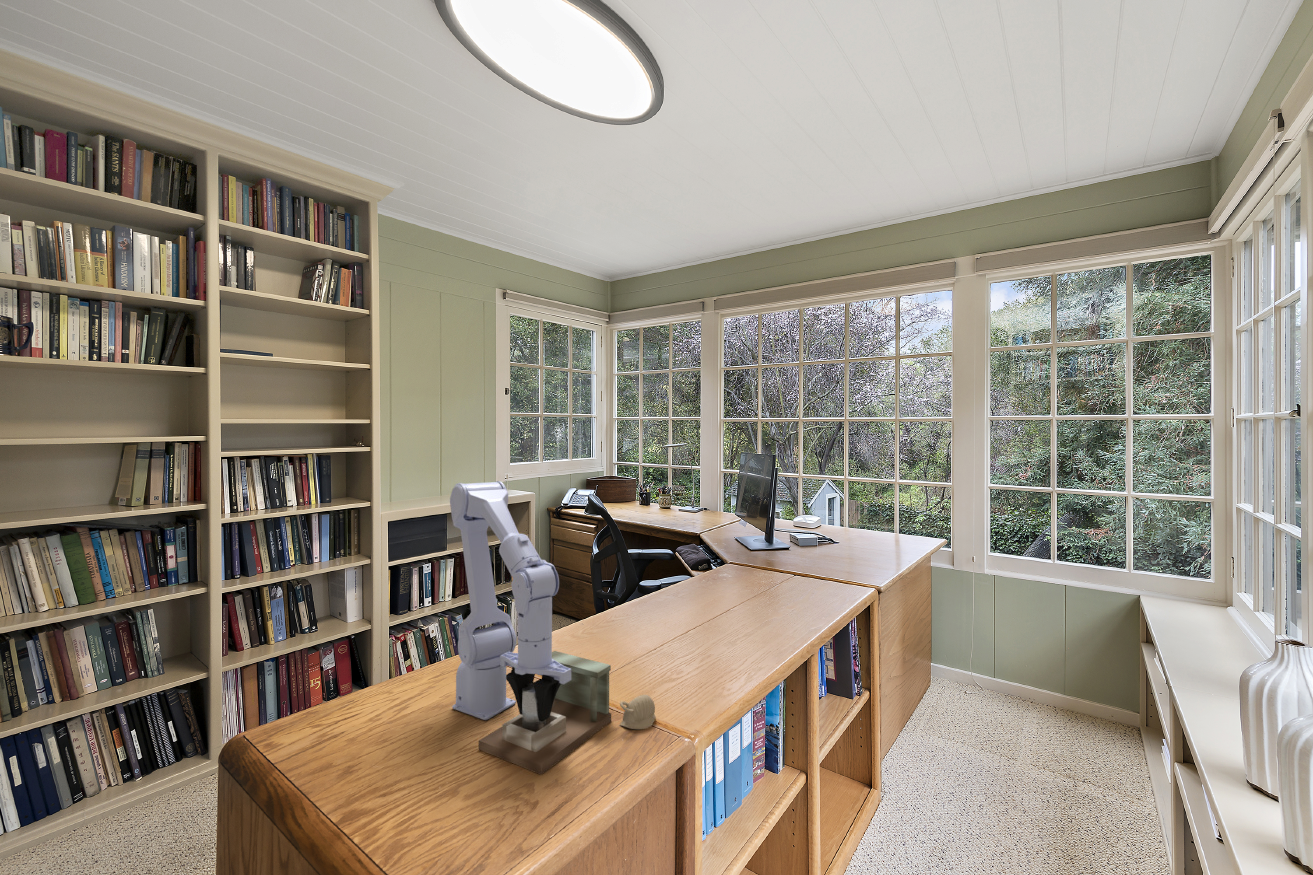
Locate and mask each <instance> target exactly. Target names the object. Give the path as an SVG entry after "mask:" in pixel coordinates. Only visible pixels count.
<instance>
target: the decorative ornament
mask: <svg viewBox="0 0 1313 875" xmlns="http://www.w3.org/2000/svg"><path fill="white" fill-rule="evenodd" d="M619 705H620V707H621V709H622V710H623V714H622V715H623V716H622V720H621V722H620V724H619V726H621V727H625V728H628V729H632V730H646V729H648V728H650V727H652V726H653V723H654V722H655V720H656V718H657V716H656V714H655V712H656V707H655V702H654V700H653V699H652V697H651V696H650V695H648V694H640V695H638V696H636V697H634V698H632V700H630V702H627V701H626V700H625V701H623V700H622V701H620V702H619Z"/></svg>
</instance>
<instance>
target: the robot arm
mask: <svg viewBox="0 0 1313 875" xmlns="http://www.w3.org/2000/svg"><path fill="white" fill-rule="evenodd" d="M508 503H509V492H508V488H507V487H506V485H505V483H503V482H502V481H499V480H497V481H493V482H491V481H490V482H472V483H471V482H470V483H463V482H457V483H456V484H455V485H454V486H453V488H452V490H451V494H450V497H449V504H450V505H449V506H450V511H451V512H450V513H451V520H452V525H453V527H455V528H457V529H458V530H460V534H461V542H462V552H463V553H462V554H463V558H464V559H463V560H464V567H465V575H466V582H467V583H466V584H467V588H468V598H469V606H470V614H469V615H467V617H466V618H465V619H464V620H463V621H462V622H461V624H460V625H459V626H458V641H457V652H458V656H459V659H460V661H461V662H460V664H459V666H458V667H457V670H456V674H455V704H453V705H452V706H451V708H452V709H453V710H456V711H459V712H462V713H464V714H467V715H470V716H473V717H475V718H477V719H480V720H483V721H487V720H489V719H491V718H493V717H495V716H496V715H498V714H500V713H501V712H504V711H506V710H507V709H508V708H510V707H512V706H514V705H515V704H516V705H517V707H518V712H519V714H521V715H522V688H523V687H524V686H525V685H528V684H531V683H533V687H534V689H535V692H536V696H537V702H538V718H539V721H541V722H543V721H544V720H546V719H547V718H549V717H550V714H551V710H552V706H553V702H554V699H555V696H556V693H557V691H558V689H559V687H560V685H561V684H565V683H567V682H569V681H570V680H571V668H568V667H565V666H563V665H562V664H560V663H559V662H557V661H555V660H554V659H552V652H553V644H552V643H553V641H552V639H553V635H552V634H553V597H554V596H556V595H557V594H558V591H559V590H560V589H559V588H560V578H559V573H558V571H557V570H556V567H555V565H554V564H553V563H551V562H547V561H546V559H542V558H541V557H540V555H539V553H538V551H537V550H536V548H535V546H534V544H533V543H532V542H531V539H530V538H529V536H528V535H527V534H525V533H519V531H518V528H517V526H516V524H515V521H514V519H513V517H512V515H511V511H509V508H508V505H509V504H508ZM489 527H490V529H491V531H492V532H493V533H494V535H495V536H496V538H497V539H498V541H499V542H500V546H499V549H498V552H499V555H500V558H502V560H503V563H504V565H505V566H506V568H507V570H508V572H509V573H510V576H511V577H512V581H511V583H510V585H511V590H512V591H511V593H512V595H513V597H514V608H515V611H516V612H517V634H516V632H515V628H514V627H513V623H512V620H511V616H510V614H508V613H506V612H504V611H503V610H501V609H499V608H498V604H497V596H496V595H497V594H496V589H495V582H494V575H493V568H492V560H491V555H490V553H491V552H490V548H489V546H490V545H489V541H488V528H489ZM490 624H491V626H487V625H490ZM492 624H494V625H492ZM482 626H487V627H483V628H479V627H482ZM477 628H479V629H477ZM516 646H517V652H514V651H515V649H516ZM507 667H510V668H511V670H510V672H507ZM536 675H537V676H541V678H539V679H537V680H535V677H536ZM534 680H535V681H534ZM507 682H508V685H509V686H510V687H511V690H512V692H513V694H514V697H515V700H514V699H511V698H509V697H507Z"/></svg>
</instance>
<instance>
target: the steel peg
mask: <svg viewBox="0 0 1313 875" xmlns="http://www.w3.org/2000/svg"><path fill="white" fill-rule="evenodd" d="M545 726H546V720H544V721H543V722H541V721H539V718H538V702H537V696H536V692H535V689H534V687H533V683H531V684H528V685H525V686H524V687H523V688H522V728H524V729H527V730H530V731H533V732H537V731H539V730H540V729H542V728H543V727H545Z"/></svg>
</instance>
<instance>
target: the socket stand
mask: <svg viewBox="0 0 1313 875" xmlns="http://www.w3.org/2000/svg"><path fill="white" fill-rule="evenodd" d="M552 659H554V660H555V661H557V662H559V663H560V664H562V665H563V666H565V667H568V668H571V680H570V681H569V682H567V683H565V684H561V685H560V687H559V689H558V691H557V693H556V696H555V699H554V702H553V706H552V710H551V714H550V717H549V718H547V719H546V726H545V727H543V728H542V729H540V730H539V731H537V732H533V731H530V730H527V729H524V728H522V715H521V714H520V713H519V714H518V715H516V716H514V717H513V718H511V719H509V720H507V721H506V722H504V723H503V724H501V725H502V726H500V727H498V728H497V729H495V730H494V731H492V732H490V733H489V734H487V735H485V736H483V737H482V738H481V739H479V740H478V750H480V751H482V752H484V753H487V754H489V755H491V756H495V757H497V758H499V759H500V760H501V759H502V760H504V761H506V762H509V763H512V764H514V765H516V766H519V767H521V768H524V769H525V770H529V771H531V772H533V773H536V774H538V775H541V776H542V775H543V774H544V773H545V774H546V772H547V771H549V770H550V769H551V768H552V767H553V766H555V765H556V764H558V763H559V762H560V761H561V760H563V759H564V758H565V757H568V755H569V754H570V753H572V752H573V751H575V750H576V749H577V748H578V747H580V746H581V745H583V744H584V743H585V742H586V741H587V740H589V739H590V738H591V737H592V736H594V735H595V734H597V733H598V732H600V731H601V729H603V728H605V727H606V726H607V725H609V724H610V723H611V722H612V712H610V672H611V667H612V666H611V664H608V663H604V662H600V661H595V660H592V659H590V658H589V659H588V658H584V657H581V656H576V655H573V654H568V653H565V652H561V651H558V650H557V651H556V650H552Z"/></svg>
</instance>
